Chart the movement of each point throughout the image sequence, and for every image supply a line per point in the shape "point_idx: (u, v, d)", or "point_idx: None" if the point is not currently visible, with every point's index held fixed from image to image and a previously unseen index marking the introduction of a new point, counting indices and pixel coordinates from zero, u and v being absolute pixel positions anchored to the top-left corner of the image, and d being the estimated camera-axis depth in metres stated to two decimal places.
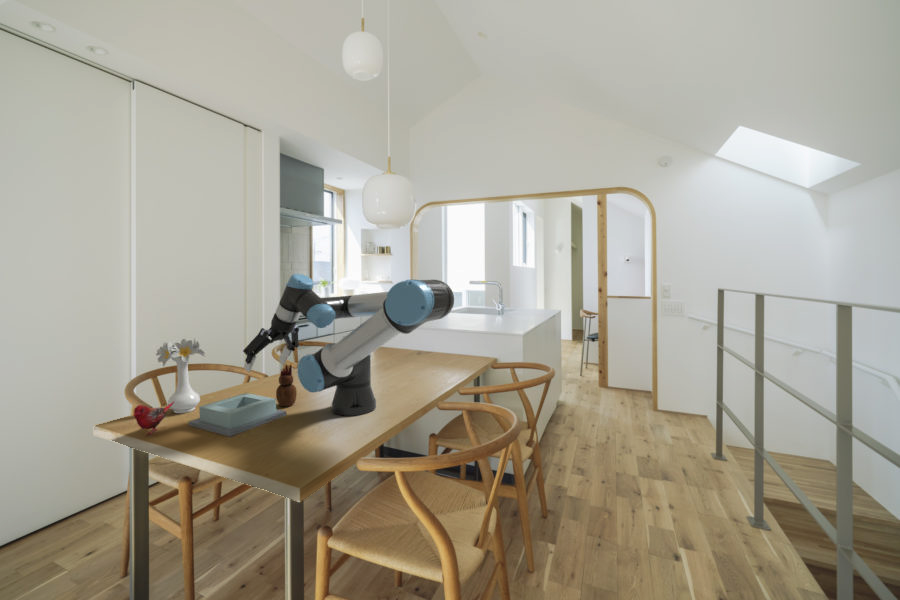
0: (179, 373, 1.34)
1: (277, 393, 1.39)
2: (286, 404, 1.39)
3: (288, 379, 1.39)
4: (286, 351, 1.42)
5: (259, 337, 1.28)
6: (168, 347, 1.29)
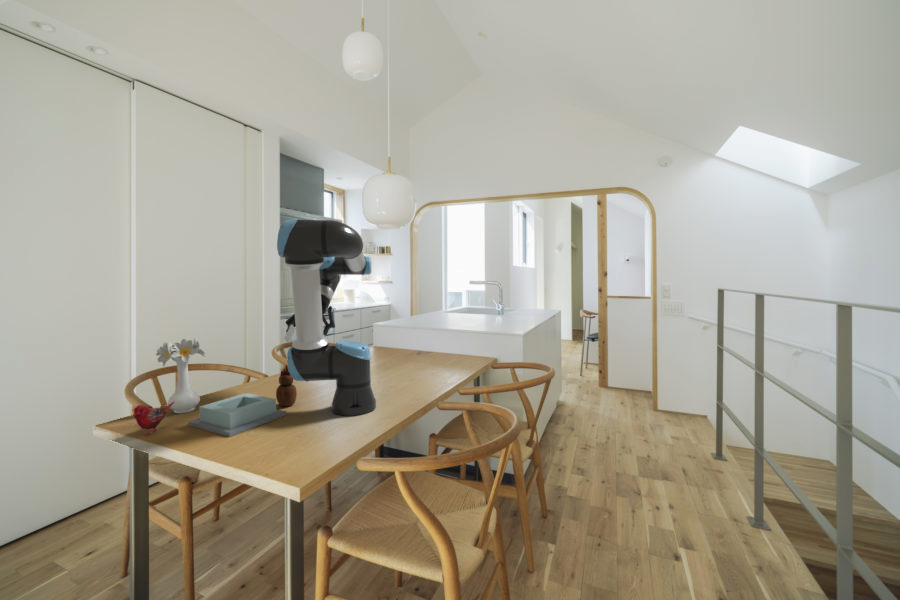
0: (179, 373, 1.34)
1: (277, 393, 1.39)
2: (286, 404, 1.39)
3: (288, 379, 1.39)
4: None
5: None
6: (168, 347, 1.30)
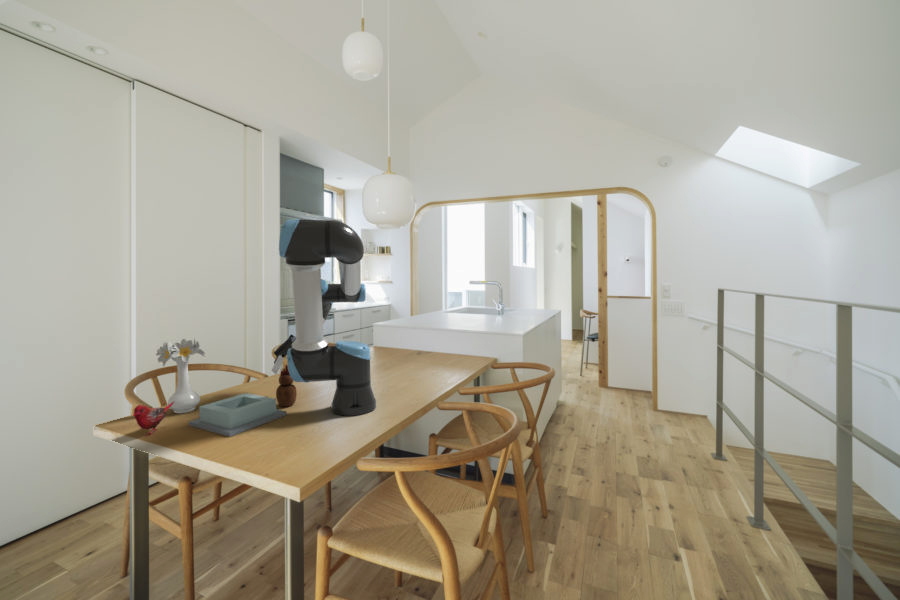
0: (179, 373, 1.34)
1: (277, 393, 1.39)
2: (286, 404, 1.39)
3: (288, 379, 1.39)
4: None
5: None
6: (168, 347, 1.29)
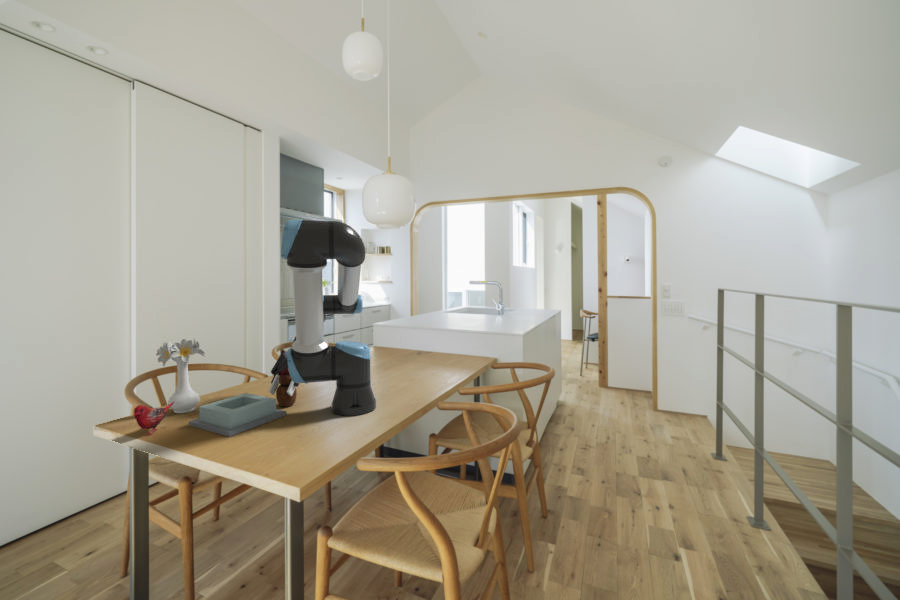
0: (179, 373, 1.34)
1: (277, 393, 1.39)
2: (286, 404, 1.39)
3: (288, 379, 1.39)
4: None
5: None
6: (168, 347, 1.29)
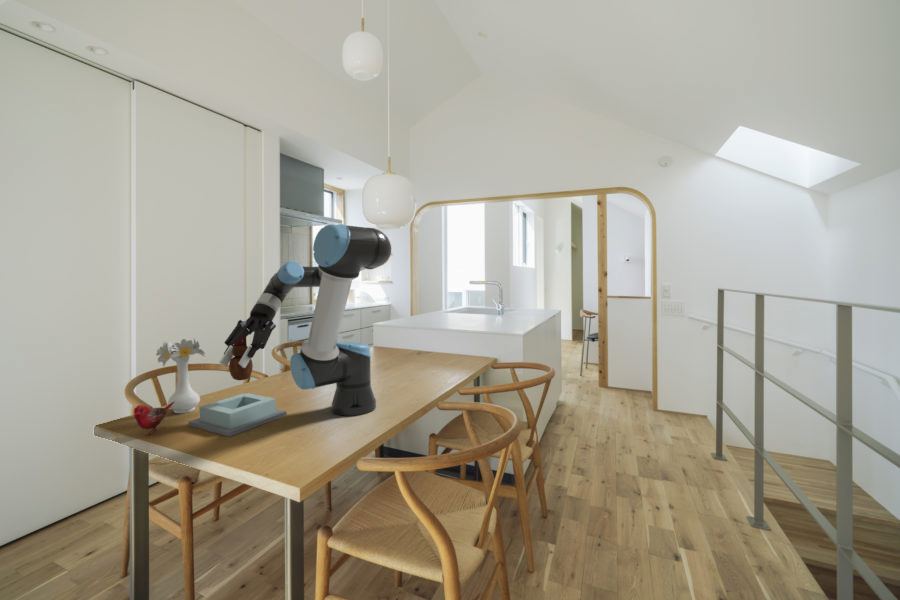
0: (179, 373, 1.34)
1: (230, 365, 1.26)
2: (240, 377, 1.26)
3: (241, 350, 1.26)
4: None
5: None
6: (168, 347, 1.30)
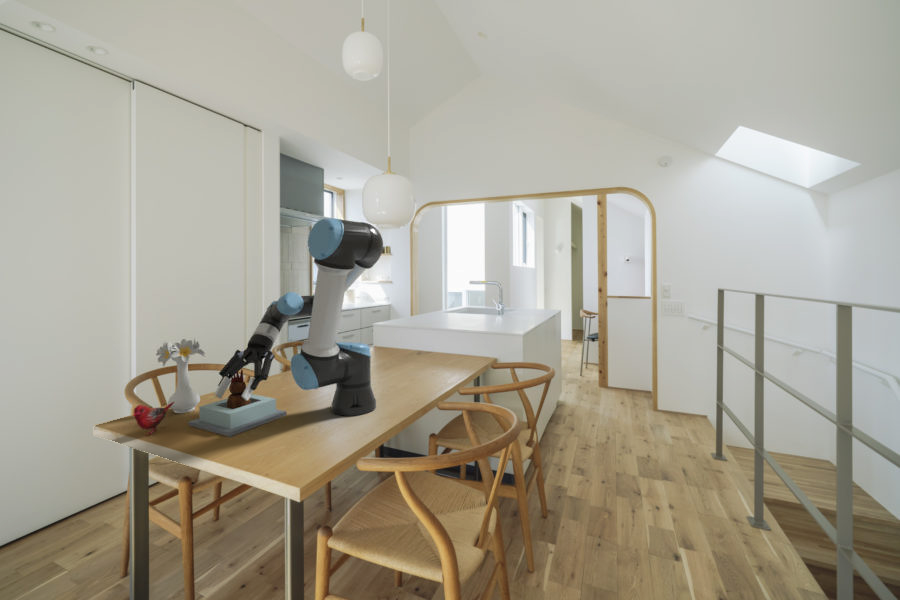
0: (179, 373, 1.34)
1: (228, 403, 1.25)
2: None
3: (239, 387, 1.24)
4: None
5: None
6: (168, 347, 1.29)
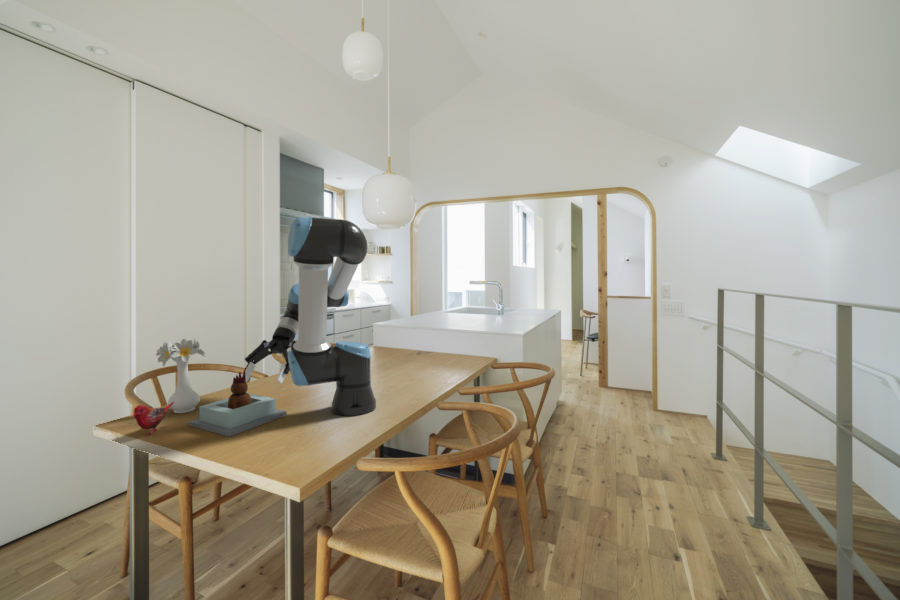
0: (179, 373, 1.34)
1: (229, 403, 1.25)
2: None
3: (241, 387, 1.24)
4: None
5: None
6: (168, 347, 1.29)
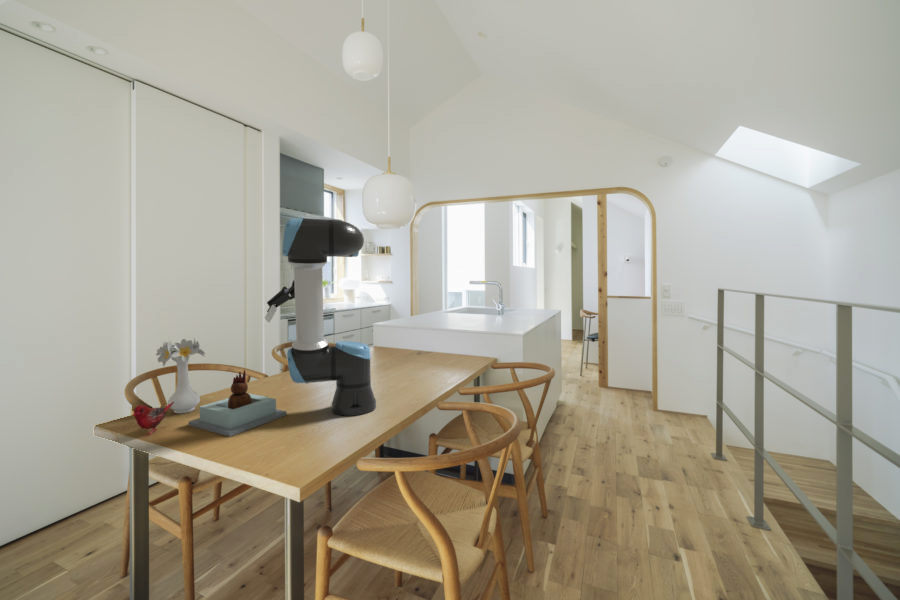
0: (179, 373, 1.34)
1: (229, 403, 1.25)
2: None
3: (241, 387, 1.24)
4: None
5: None
6: (168, 347, 1.29)
